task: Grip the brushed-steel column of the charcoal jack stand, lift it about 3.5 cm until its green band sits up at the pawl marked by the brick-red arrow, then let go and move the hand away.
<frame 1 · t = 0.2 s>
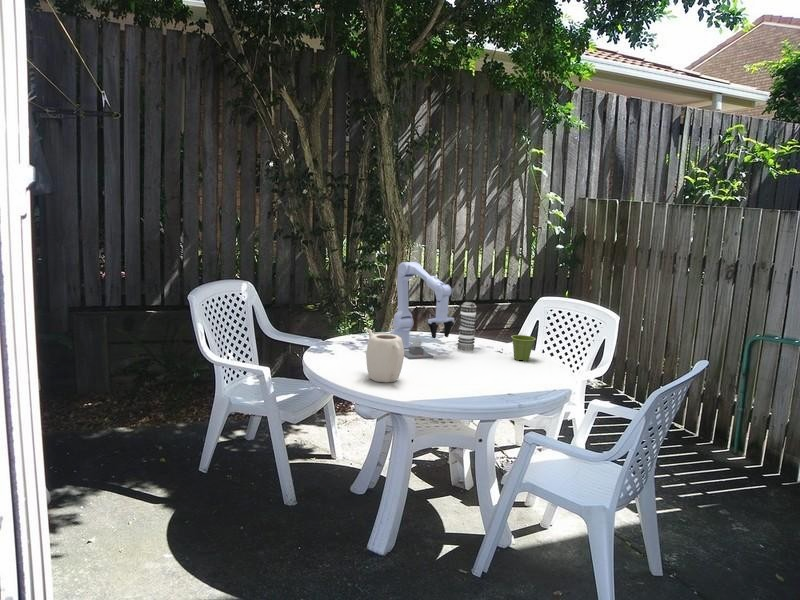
hand: (440, 337, 340), 10 cm above the table, fingers open, 7 cm apart
plant pot: (521, 360, 347), on the table
decorative candle: (465, 351, 359), on the table
jack stand base: (416, 355, 343), on the table
cream ceramic pot: (382, 379, 298), on the table
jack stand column: (416, 345, 342), point 5 cm above the table, slide at 0.0 cm
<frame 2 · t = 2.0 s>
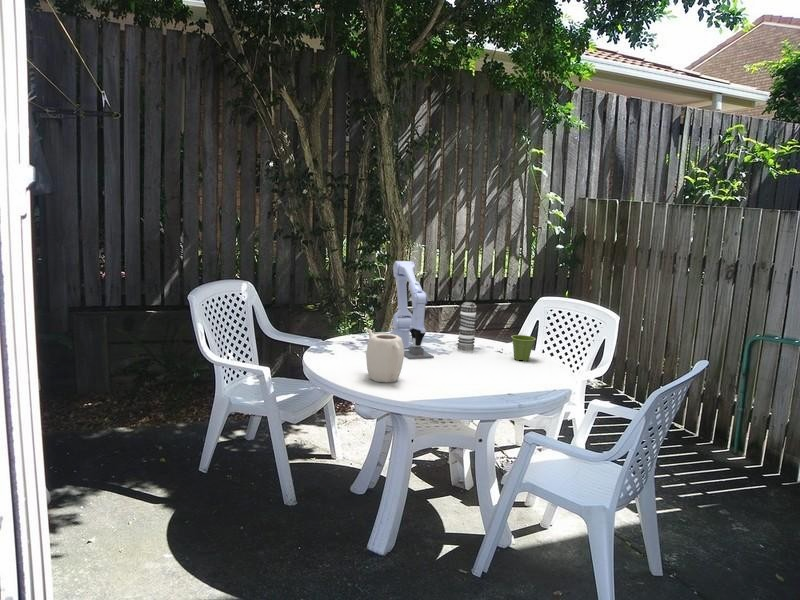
hand: (416, 344, 342), 5 cm above the table, fingers closed on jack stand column, 3 cm apart
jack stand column: (416, 345, 342), point 5 cm above the table, slide at 0.0 cm, touching gripper
everything else where it was.
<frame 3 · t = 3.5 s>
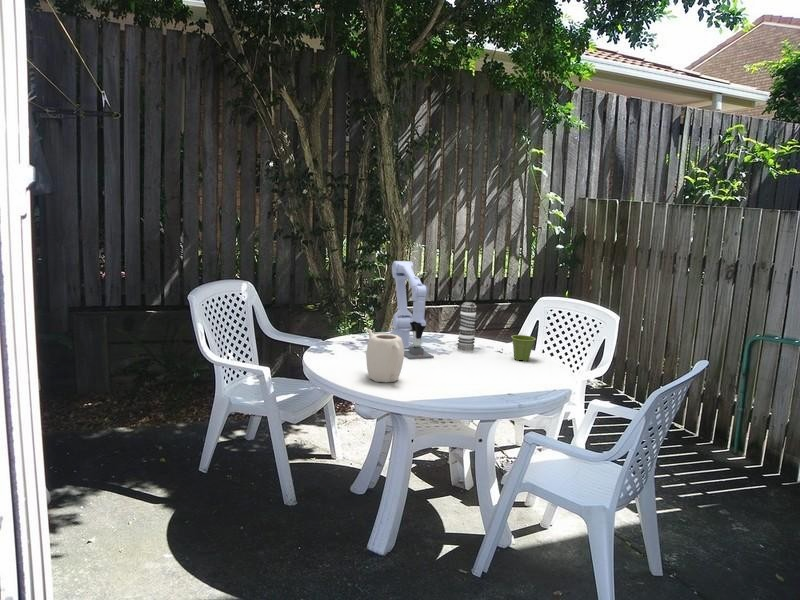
hand: (417, 337, 342), 9 cm above the table, fingers closed on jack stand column, 3 cm apart
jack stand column: (417, 338, 342), point 8 cm above the table, slide at 3.5 cm, touching gripper
everything else where it was.
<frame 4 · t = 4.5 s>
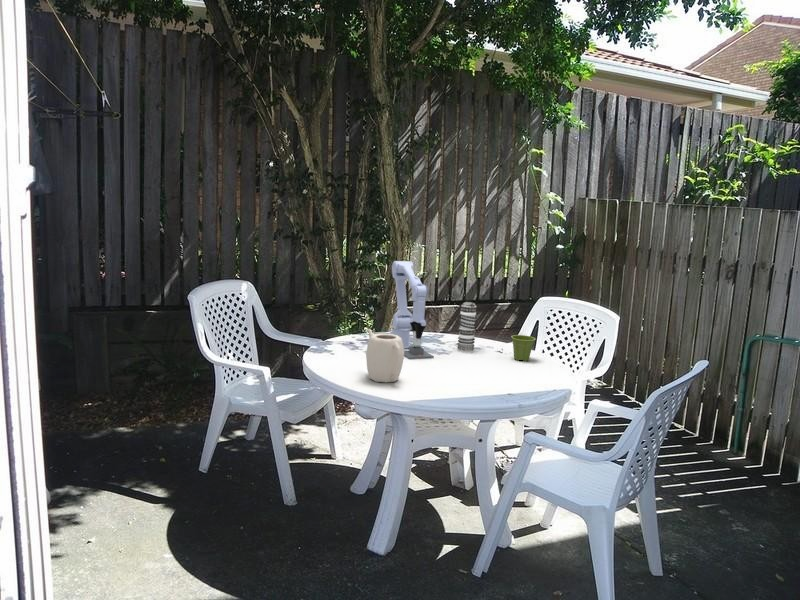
hand: (417, 337, 342), 9 cm above the table, fingers closed on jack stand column, 3 cm apart
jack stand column: (417, 338, 342), point 8 cm above the table, slide at 3.5 cm, touching gripper
everything else where it was.
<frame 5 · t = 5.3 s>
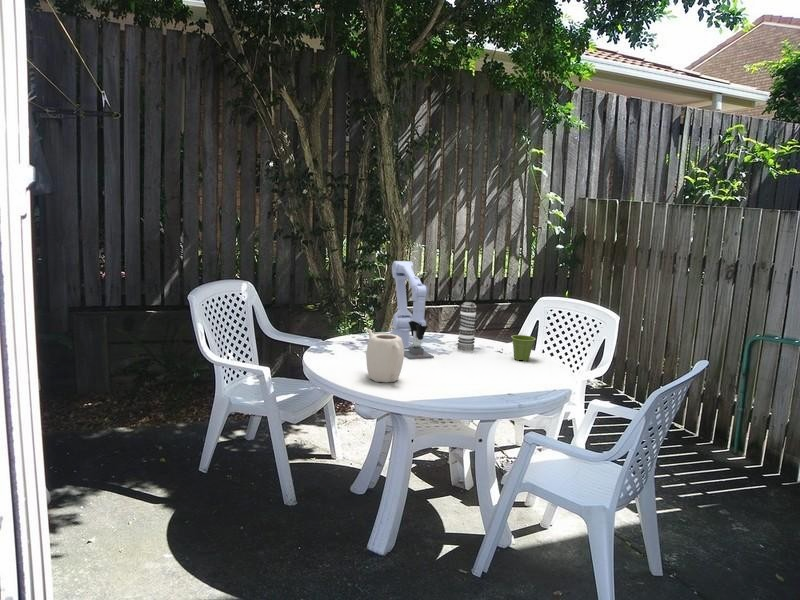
hand: (417, 337, 342), 9 cm above the table, fingers open, 7 cm apart
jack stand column: (417, 338, 342), point 8 cm above the table, slide at 3.5 cm
everything else where it was.
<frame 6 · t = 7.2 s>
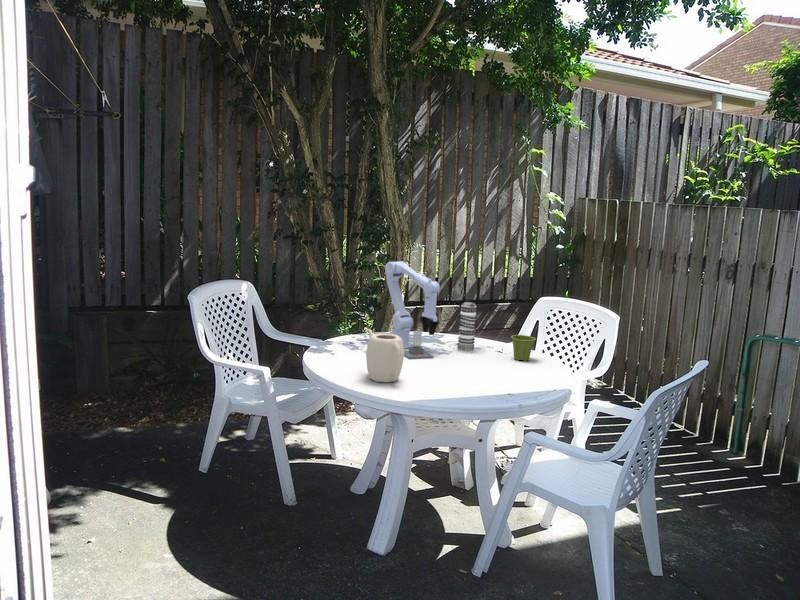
hand: (428, 333, 347), 10 cm above the table, fingers open, 7 cm apart
nothing on the table moved.
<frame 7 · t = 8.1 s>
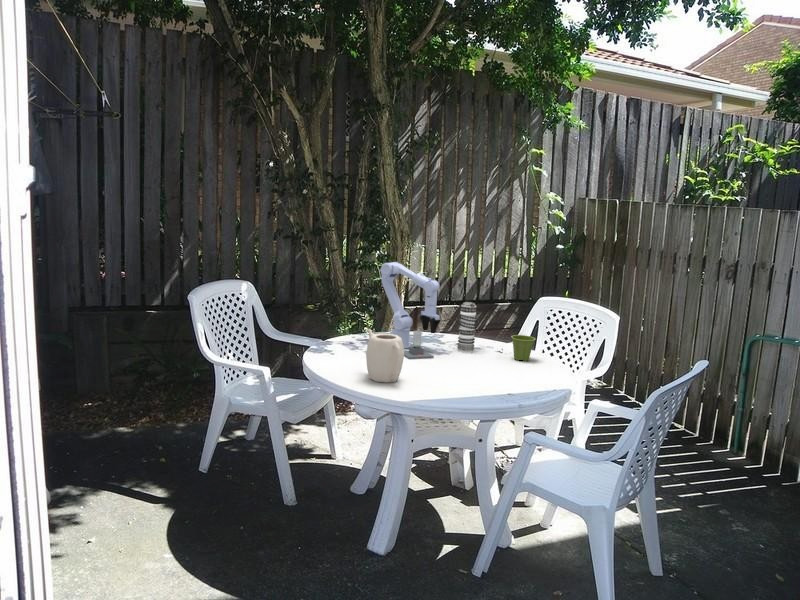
hand: (429, 331, 351), 10 cm above the table, fingers open, 7 cm apart
nothing on the table moved.
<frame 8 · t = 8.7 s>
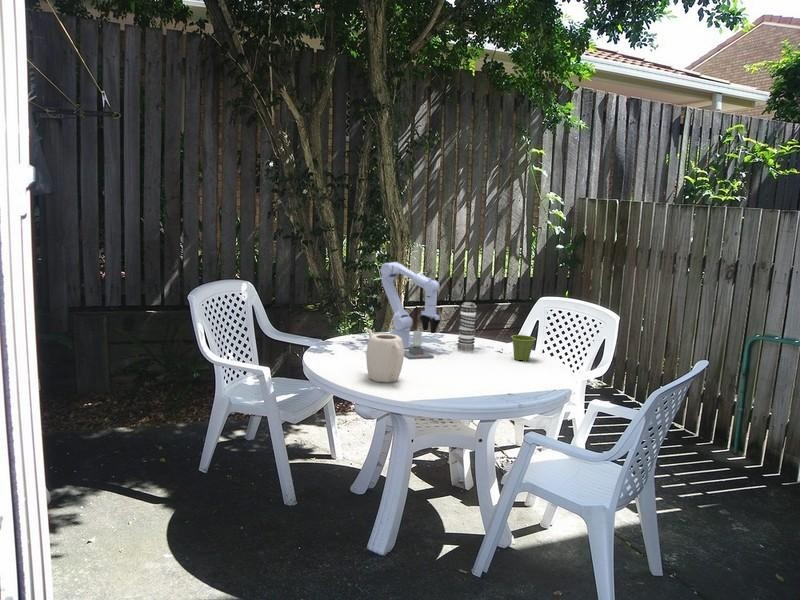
hand: (429, 331, 351), 10 cm above the table, fingers open, 7 cm apart
nothing on the table moved.
at the end: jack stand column slide at 3.5 cm; the gripper is holding nothing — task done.
